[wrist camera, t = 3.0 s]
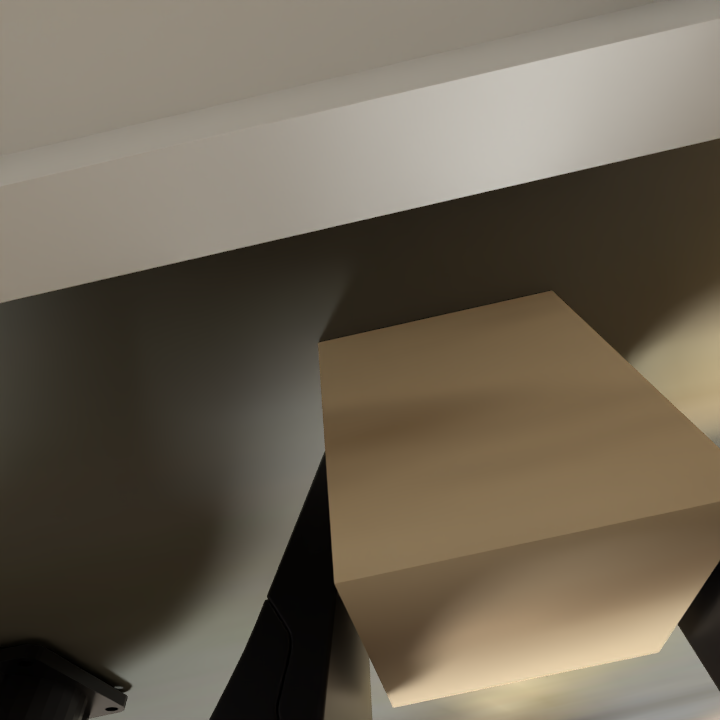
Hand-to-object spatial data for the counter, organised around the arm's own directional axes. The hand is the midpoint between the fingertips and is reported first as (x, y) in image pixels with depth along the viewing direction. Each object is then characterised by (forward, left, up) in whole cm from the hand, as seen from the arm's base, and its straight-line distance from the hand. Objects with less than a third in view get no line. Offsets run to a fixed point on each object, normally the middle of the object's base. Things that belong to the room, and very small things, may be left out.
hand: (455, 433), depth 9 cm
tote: (+14, +3, -1) cm, 14 cm away
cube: (0, 0, -1) cm, 1 cm away
